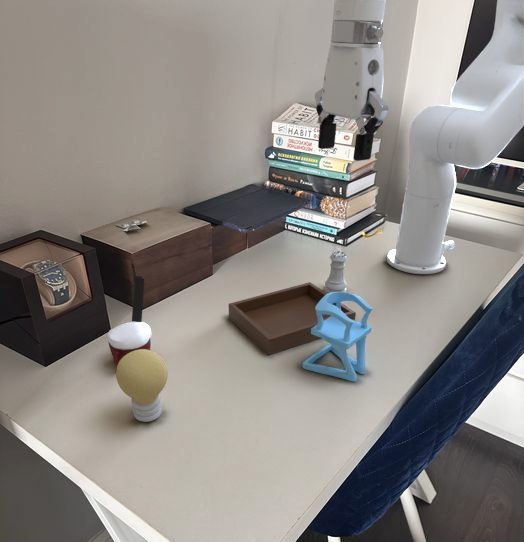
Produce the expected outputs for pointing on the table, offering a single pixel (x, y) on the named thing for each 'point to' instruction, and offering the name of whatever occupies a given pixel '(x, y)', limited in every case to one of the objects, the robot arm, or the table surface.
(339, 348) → the chair
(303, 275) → the table surface
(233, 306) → the tray
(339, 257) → the rook chess piece
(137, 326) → the cocoa
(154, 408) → the light bulb
